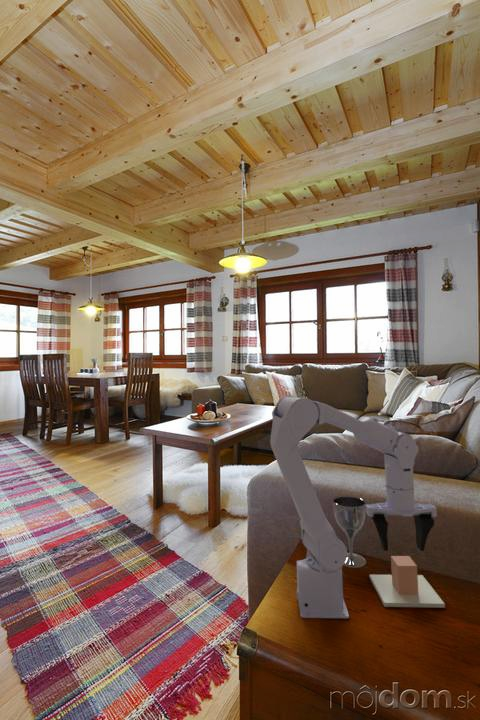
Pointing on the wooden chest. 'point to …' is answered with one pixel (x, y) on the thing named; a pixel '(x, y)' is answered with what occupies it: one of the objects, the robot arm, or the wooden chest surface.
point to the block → (404, 575)
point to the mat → (393, 599)
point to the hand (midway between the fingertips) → (402, 548)
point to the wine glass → (350, 524)
